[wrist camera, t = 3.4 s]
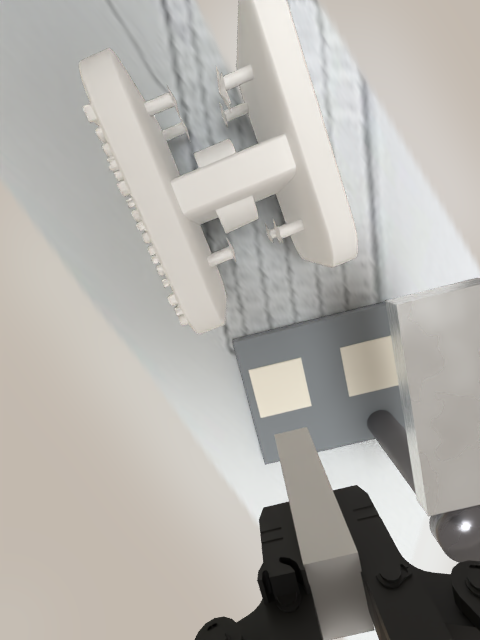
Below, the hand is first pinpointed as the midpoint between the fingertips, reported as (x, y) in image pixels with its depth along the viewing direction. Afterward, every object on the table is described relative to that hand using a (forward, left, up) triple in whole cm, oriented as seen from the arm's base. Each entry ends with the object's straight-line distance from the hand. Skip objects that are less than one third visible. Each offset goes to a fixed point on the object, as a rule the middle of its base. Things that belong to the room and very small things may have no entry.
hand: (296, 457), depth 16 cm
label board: (+4, +5, -15) cm, 17 cm away
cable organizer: (-13, 0, -16) cm, 21 cm away
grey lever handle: (+3, +9, -3) cm, 9 cm away
